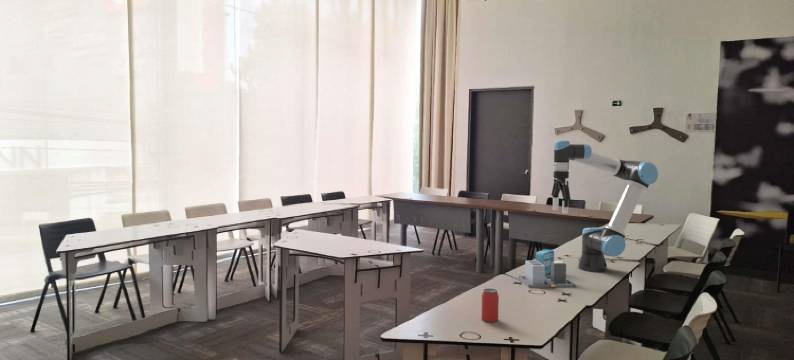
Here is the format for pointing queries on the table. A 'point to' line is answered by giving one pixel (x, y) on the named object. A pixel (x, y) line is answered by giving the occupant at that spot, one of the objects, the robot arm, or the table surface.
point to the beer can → (490, 305)
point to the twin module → (534, 272)
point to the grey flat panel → (547, 283)
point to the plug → (558, 272)
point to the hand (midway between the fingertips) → (560, 211)
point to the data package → (545, 259)
